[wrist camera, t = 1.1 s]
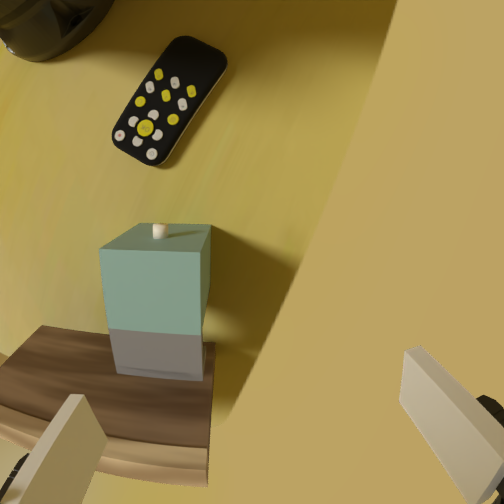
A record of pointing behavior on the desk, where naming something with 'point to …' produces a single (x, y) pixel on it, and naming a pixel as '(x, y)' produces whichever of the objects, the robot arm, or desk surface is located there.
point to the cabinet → (158, 299)
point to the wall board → (110, 406)
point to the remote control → (168, 99)
